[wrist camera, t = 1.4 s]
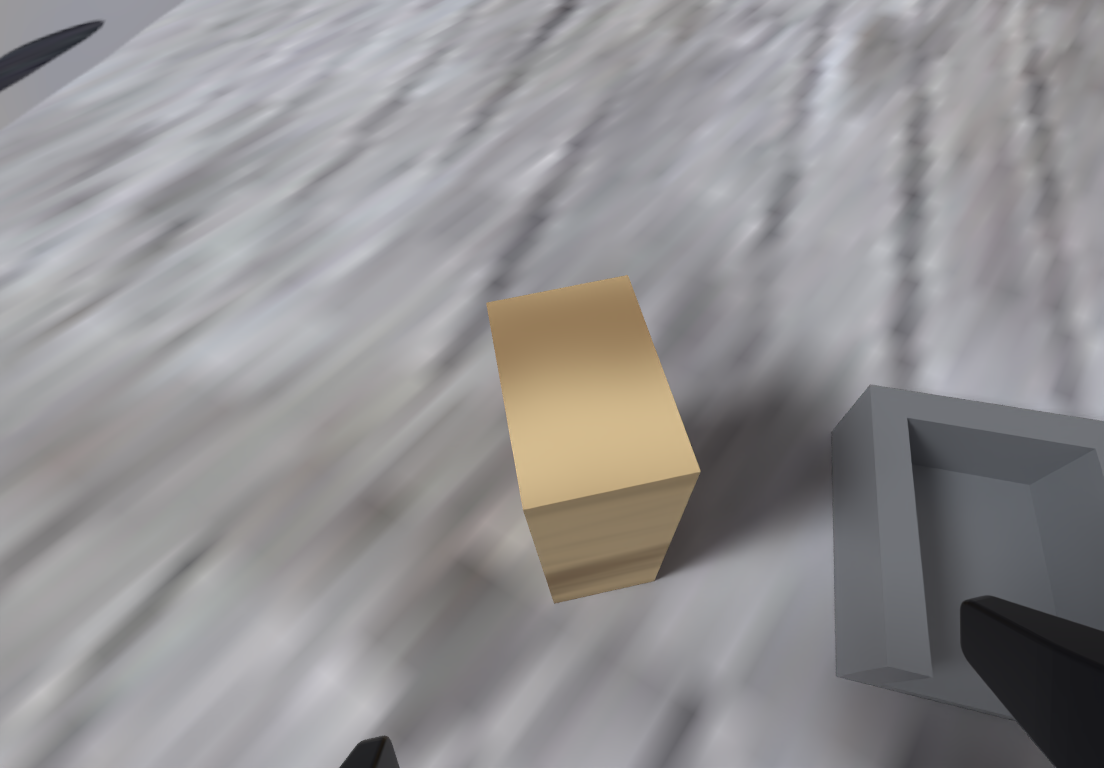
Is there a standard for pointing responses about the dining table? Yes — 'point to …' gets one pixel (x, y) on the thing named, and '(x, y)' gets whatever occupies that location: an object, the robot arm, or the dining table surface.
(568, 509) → the block
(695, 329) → the dining table surface
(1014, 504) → the end cap
